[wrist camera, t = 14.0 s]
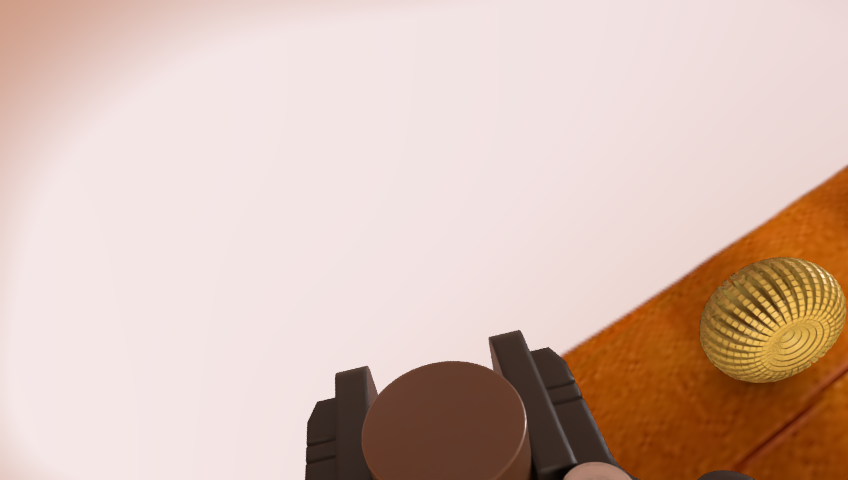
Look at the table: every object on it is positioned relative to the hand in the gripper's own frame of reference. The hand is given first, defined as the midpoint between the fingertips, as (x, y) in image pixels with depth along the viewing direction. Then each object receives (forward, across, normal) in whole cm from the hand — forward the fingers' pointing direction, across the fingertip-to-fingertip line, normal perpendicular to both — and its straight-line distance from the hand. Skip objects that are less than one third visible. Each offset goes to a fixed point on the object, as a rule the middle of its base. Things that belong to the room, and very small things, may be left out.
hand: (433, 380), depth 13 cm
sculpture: (+13, -19, +20) cm, 31 cm away
